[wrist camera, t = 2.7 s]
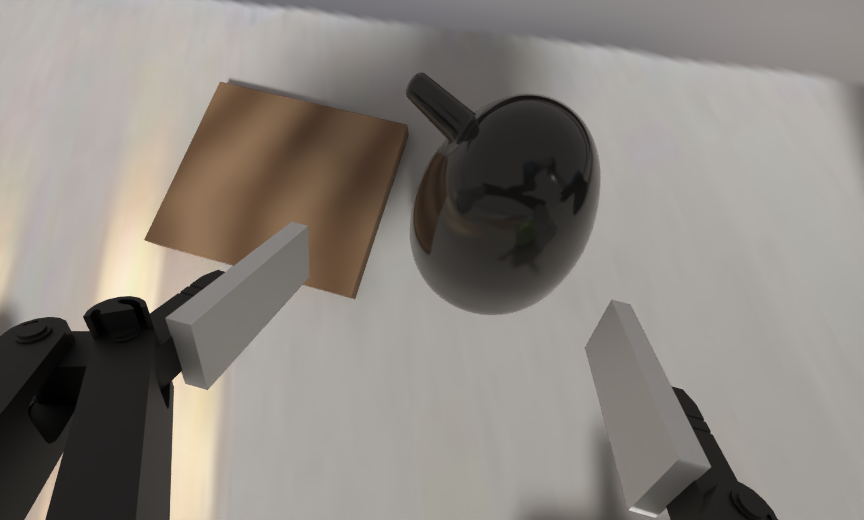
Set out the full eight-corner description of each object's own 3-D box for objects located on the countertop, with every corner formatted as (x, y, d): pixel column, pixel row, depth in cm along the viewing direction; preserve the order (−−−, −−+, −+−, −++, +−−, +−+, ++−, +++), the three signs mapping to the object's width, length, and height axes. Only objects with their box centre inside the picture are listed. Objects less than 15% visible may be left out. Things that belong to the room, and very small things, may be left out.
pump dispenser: (460, 163, 28) (485, -40, 13) (576, 233, 26) (750, 91, 12) (385, 266, 26) (315, 165, 11) (504, 348, 25) (604, 354, 10)
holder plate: (408, 133, 29) (407, 124, 27) (355, 299, 26) (351, 296, 24) (228, 92, 30) (220, 81, 29) (157, 244, 27) (144, 239, 26)
